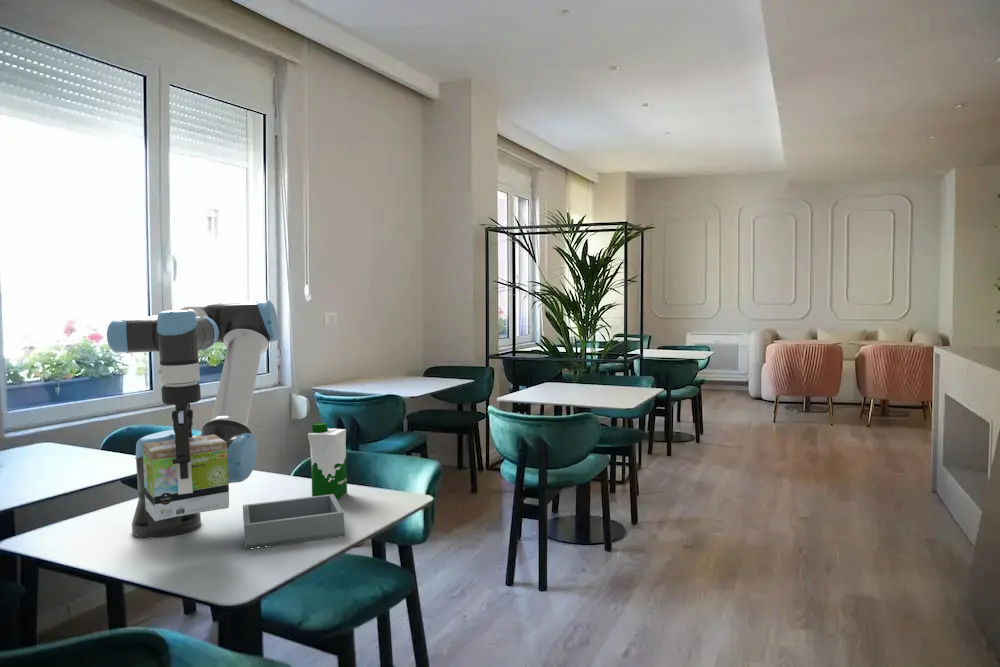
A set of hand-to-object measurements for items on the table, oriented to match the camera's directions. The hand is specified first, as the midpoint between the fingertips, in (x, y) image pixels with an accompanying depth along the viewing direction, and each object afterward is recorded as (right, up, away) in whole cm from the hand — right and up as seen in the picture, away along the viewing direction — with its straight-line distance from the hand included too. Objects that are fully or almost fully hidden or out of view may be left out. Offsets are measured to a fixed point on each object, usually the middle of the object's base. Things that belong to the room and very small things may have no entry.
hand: (186, 485), depth 157 cm
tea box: (0, -5, 0) cm, 5 cm away
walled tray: (+18, -14, +16) cm, 28 cm away
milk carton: (+20, -12, +44) cm, 50 cm away
